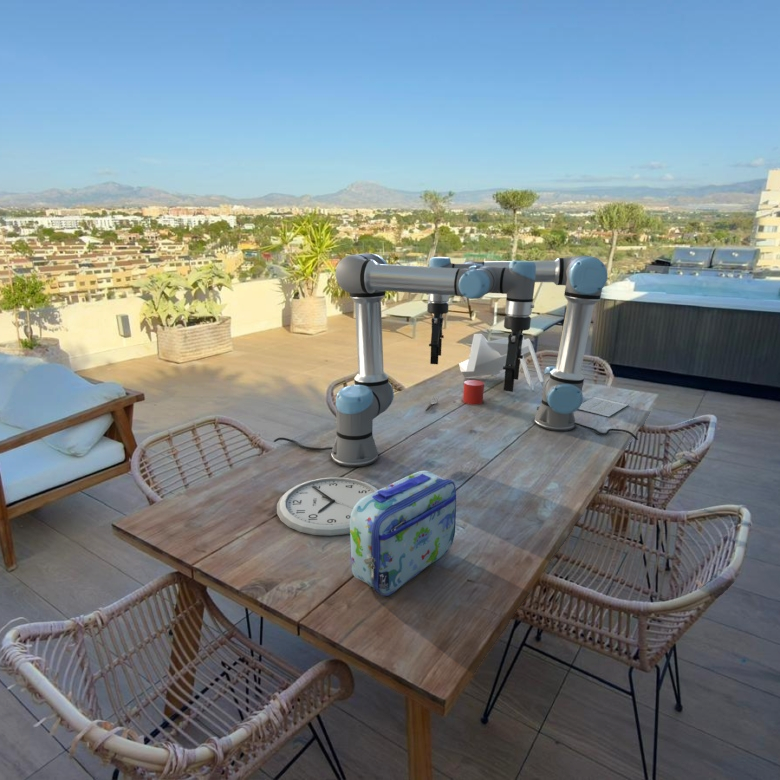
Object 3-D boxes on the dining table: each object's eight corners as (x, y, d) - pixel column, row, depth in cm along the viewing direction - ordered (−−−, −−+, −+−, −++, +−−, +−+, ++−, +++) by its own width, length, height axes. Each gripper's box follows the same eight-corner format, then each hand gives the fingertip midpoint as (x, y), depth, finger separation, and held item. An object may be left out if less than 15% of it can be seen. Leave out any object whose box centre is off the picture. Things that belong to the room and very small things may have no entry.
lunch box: (378, 608, 104) (379, 516, 98) (343, 583, 112) (342, 495, 105) (459, 554, 122) (465, 473, 116) (425, 535, 129) (428, 458, 123)
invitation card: (608, 416, 214) (573, 407, 224) (608, 416, 214) (573, 408, 224) (628, 404, 229) (594, 396, 238) (628, 405, 229) (594, 397, 238)
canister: (466, 397, 236) (467, 378, 233) (485, 400, 232) (486, 381, 230) (460, 402, 229) (461, 383, 226) (479, 405, 225) (480, 386, 222)
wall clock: (392, 527, 129) (268, 531, 127) (391, 533, 130) (269, 537, 127) (383, 473, 158) (282, 475, 155) (383, 478, 158) (282, 480, 156)
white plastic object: (480, 419, 265) (459, 396, 241) (461, 346, 287) (441, 319, 263) (551, 395, 253) (536, 368, 228) (526, 321, 275) (510, 290, 251)
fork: (422, 411, 216) (422, 407, 215) (433, 400, 230) (433, 396, 230) (428, 412, 215) (429, 407, 215) (438, 401, 230) (439, 396, 229)
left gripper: (527, 323, 140) (519, 398, 147) (534, 310, 163) (527, 375, 169) (498, 321, 143) (492, 394, 149) (510, 308, 165) (504, 373, 172)
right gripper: (431, 297, 199) (429, 351, 205) (423, 306, 176) (421, 367, 182) (450, 297, 198) (448, 352, 204) (446, 307, 174) (443, 368, 181)
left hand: (511, 384), depth 159 cm, fingers open, 13 cm apart
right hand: (435, 359), depth 193 cm, fingers open, 13 cm apart
